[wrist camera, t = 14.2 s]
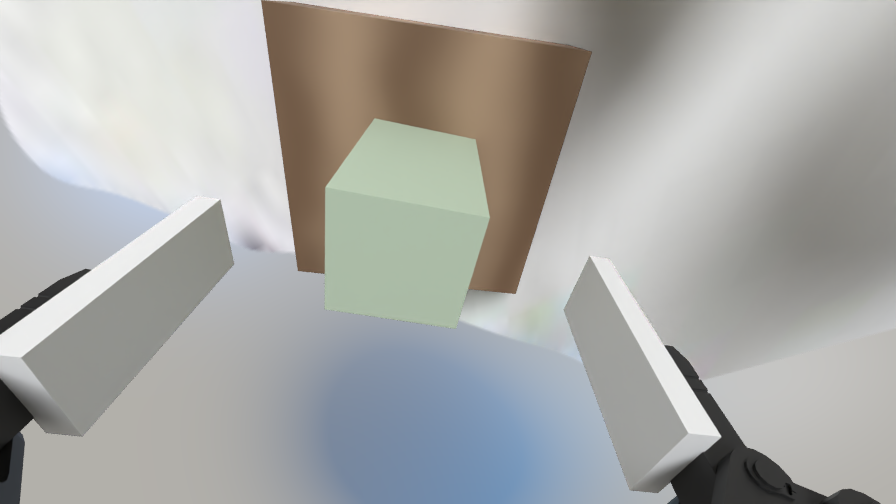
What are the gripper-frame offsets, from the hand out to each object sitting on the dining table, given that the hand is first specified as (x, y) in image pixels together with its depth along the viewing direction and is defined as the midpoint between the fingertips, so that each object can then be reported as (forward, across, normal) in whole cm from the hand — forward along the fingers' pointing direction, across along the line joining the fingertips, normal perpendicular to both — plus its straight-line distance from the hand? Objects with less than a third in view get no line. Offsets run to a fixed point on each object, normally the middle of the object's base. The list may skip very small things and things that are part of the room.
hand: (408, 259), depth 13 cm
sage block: (+7, 0, 0) cm, 7 cm away
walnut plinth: (+11, 0, 0) cm, 11 cm away
